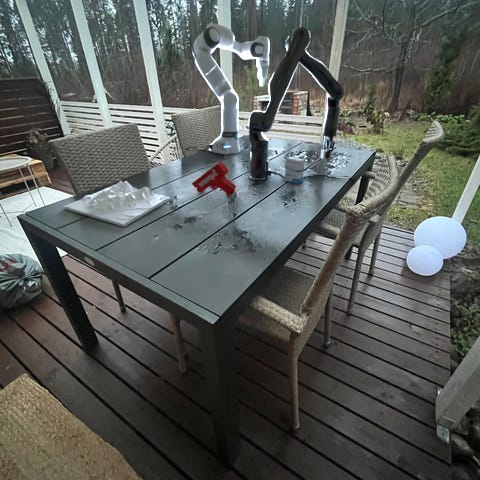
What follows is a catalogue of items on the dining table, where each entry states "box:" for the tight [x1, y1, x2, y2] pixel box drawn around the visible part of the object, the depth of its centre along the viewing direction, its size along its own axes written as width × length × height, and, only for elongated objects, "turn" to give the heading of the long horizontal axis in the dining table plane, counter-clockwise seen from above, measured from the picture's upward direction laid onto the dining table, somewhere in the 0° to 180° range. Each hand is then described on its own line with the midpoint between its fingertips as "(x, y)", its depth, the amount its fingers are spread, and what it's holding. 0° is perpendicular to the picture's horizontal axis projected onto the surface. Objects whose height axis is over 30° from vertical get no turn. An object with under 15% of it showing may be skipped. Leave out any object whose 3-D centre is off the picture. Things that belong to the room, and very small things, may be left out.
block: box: [319, 148, 333, 160], centre depth 160 cm, size 4×5×5 cm
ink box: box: [284, 156, 306, 185], centre depth 140 cm, size 8×5×12 cm, turn 47°
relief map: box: [63, 179, 171, 227], centre depth 119 cm, size 27×35×5 cm
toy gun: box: [191, 161, 237, 197], centre depth 128 cm, size 18×4×15 cm
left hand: (261, 86), depth 203 cm, fingers open, 8 cm apart
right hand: (325, 157), depth 160 cm, fingers closed on block, 4 cm apart
